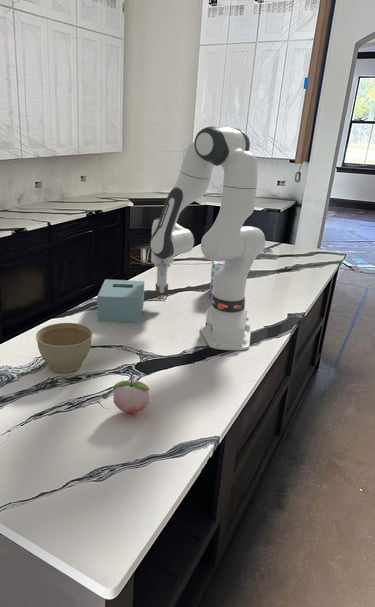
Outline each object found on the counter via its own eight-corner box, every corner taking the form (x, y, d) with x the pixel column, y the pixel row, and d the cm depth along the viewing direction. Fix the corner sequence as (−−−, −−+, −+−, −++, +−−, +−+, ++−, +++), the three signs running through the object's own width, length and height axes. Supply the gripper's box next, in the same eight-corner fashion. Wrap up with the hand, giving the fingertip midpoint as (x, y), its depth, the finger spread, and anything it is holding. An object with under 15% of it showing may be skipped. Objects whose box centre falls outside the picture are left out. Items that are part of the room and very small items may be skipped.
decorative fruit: (150, 403, 122) (151, 371, 118) (148, 422, 114) (149, 388, 111) (114, 402, 121) (114, 369, 118) (111, 421, 114) (110, 386, 110)
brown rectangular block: (167, 295, 184) (168, 285, 183) (155, 295, 184) (155, 284, 183) (167, 294, 186) (168, 283, 185) (155, 293, 186) (155, 283, 185)
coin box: (140, 322, 172) (140, 298, 168) (97, 321, 171) (97, 296, 168) (143, 303, 190) (144, 281, 187) (105, 302, 190) (105, 279, 186)
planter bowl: (37, 381, 129) (35, 347, 125) (39, 355, 143) (36, 324, 139) (94, 376, 133) (94, 343, 129) (90, 351, 148) (90, 321, 144)
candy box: (223, 300, 200) (226, 264, 194) (210, 299, 200) (213, 263, 194) (222, 289, 213) (225, 255, 207) (209, 289, 213) (212, 255, 207)
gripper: (170, 264, 170) (169, 299, 175) (170, 252, 190) (169, 283, 194) (153, 264, 170) (153, 298, 175) (155, 251, 189) (155, 283, 194)
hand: (161, 290), depth 185 cm, fingers closed on brown rectangular block, 2 cm apart
